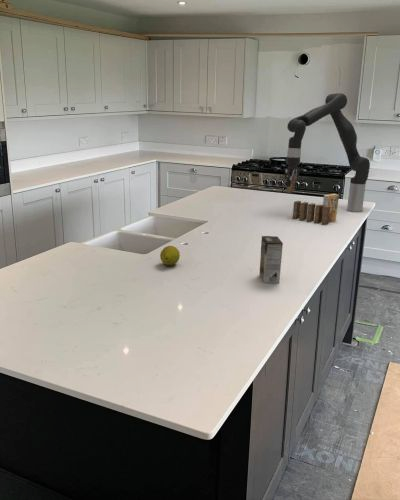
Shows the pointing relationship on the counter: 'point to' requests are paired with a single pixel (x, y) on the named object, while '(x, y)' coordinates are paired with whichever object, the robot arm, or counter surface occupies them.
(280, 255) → the coffee box
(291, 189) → the domino
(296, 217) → the domino
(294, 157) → the robot arm
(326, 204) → the candy box
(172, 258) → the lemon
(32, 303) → the counter surface
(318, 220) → the domino
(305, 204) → the domino
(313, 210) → the domino
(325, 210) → the domino
